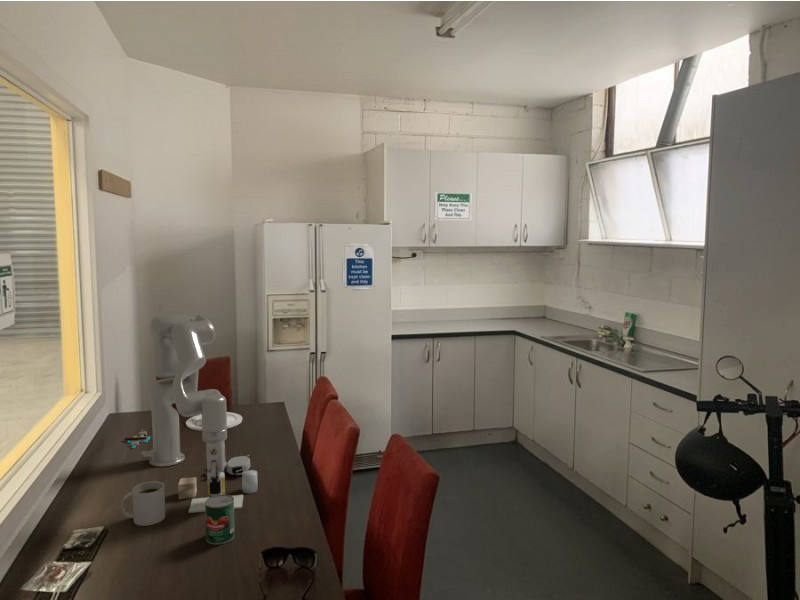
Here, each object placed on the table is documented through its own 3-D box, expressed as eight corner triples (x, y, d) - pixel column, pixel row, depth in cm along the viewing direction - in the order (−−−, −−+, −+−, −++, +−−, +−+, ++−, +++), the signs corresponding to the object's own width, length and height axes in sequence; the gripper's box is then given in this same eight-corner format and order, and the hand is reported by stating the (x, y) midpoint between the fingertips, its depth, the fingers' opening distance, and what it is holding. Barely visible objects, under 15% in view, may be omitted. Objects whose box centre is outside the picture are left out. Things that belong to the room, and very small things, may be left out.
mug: (171, 514, 182) (170, 483, 181) (149, 529, 173) (147, 496, 172) (143, 509, 185) (142, 478, 184) (120, 523, 176) (118, 490, 175)
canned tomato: (207, 547, 163) (206, 508, 162) (204, 533, 170) (203, 497, 169) (236, 541, 166) (235, 503, 165) (232, 528, 173) (231, 492, 172)
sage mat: (188, 512, 183) (188, 511, 183) (192, 500, 192) (192, 498, 192) (241, 508, 186) (241, 506, 186) (243, 496, 195) (243, 494, 195)
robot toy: (206, 483, 207) (250, 477, 210) (204, 471, 207) (248, 465, 209) (210, 470, 219) (251, 464, 222) (209, 458, 219) (250, 452, 221)
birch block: (178, 499, 193) (178, 484, 192) (181, 492, 198) (180, 478, 197) (194, 497, 194) (194, 483, 193) (196, 491, 199) (196, 477, 198)
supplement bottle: (213, 501, 185) (212, 472, 184) (204, 496, 188) (203, 467, 187) (228, 495, 189) (227, 467, 188) (219, 491, 193) (218, 462, 191)
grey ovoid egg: (242, 493, 197) (241, 476, 196) (242, 487, 202) (242, 470, 201) (257, 492, 198) (257, 475, 197) (257, 486, 203) (257, 469, 202)
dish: (187, 417, 281) (186, 394, 279) (241, 412, 288) (240, 390, 287) (184, 433, 257) (183, 408, 256) (243, 428, 265) (243, 403, 264)
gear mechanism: (118, 450, 237) (143, 449, 238) (117, 437, 236) (142, 436, 238) (131, 434, 256) (154, 433, 258) (131, 422, 256) (154, 421, 257)
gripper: (224, 442, 179) (226, 500, 181) (229, 425, 196) (230, 477, 198) (198, 444, 177) (200, 502, 179) (205, 426, 194) (206, 479, 196)
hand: (216, 488), depth 188 cm, fingers closed on supplement bottle, 5 cm apart
